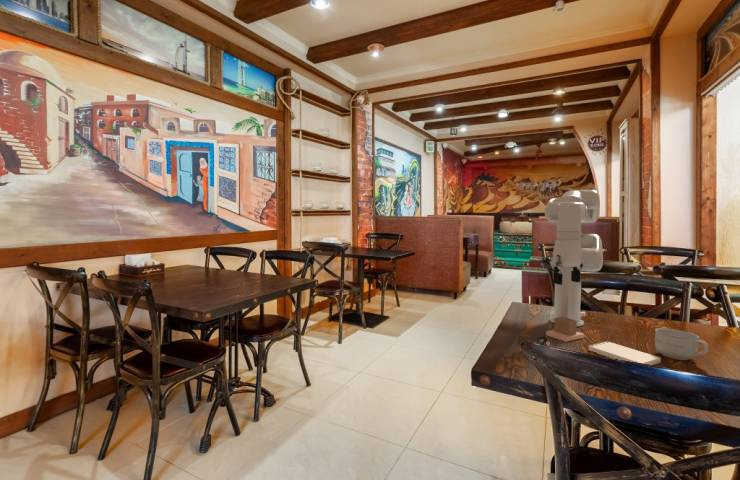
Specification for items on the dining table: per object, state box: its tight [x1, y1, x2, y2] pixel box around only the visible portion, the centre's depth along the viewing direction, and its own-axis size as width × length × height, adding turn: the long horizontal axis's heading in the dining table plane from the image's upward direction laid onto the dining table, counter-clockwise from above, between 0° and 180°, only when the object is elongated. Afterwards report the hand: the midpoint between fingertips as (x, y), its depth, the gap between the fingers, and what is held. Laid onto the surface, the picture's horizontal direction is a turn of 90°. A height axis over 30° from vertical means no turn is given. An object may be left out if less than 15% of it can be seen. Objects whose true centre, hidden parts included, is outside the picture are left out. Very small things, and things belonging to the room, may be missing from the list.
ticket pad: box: [588, 341, 662, 366], centre depth 116 cm, size 10×16×2 cm, turn 26°
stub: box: [545, 317, 585, 343], centre depth 134 cm, size 10×8×6 cm
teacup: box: [654, 327, 710, 361], centre depth 114 cm, size 14×11×8 cm
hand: (566, 282), depth 133 cm, fingers open, 9 cm apart
